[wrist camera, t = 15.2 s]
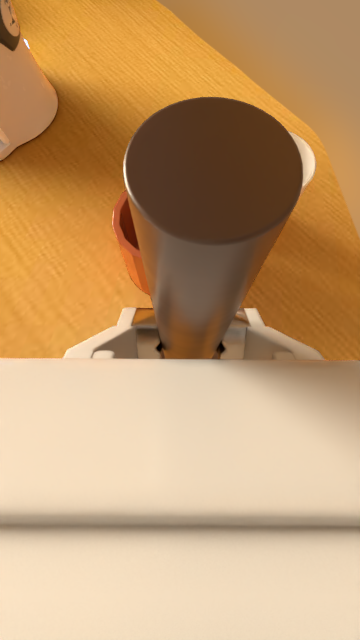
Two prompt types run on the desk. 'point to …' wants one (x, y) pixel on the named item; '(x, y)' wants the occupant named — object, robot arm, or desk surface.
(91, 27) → the desk surface
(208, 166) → the brown dowel on base
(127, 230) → the utensil holder
